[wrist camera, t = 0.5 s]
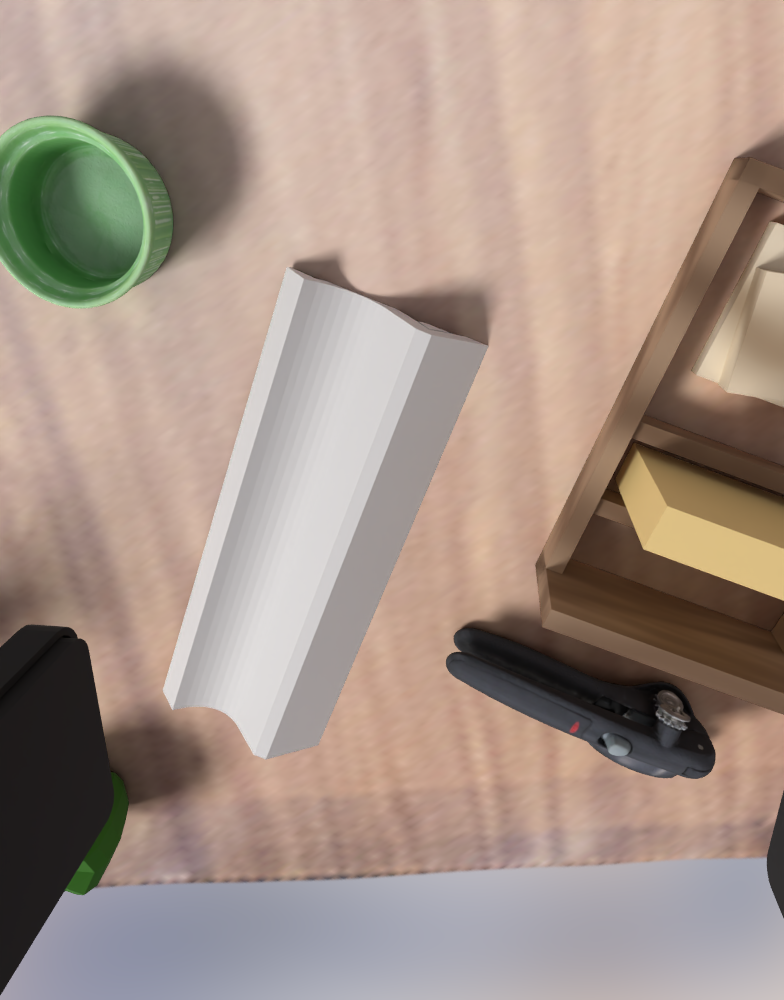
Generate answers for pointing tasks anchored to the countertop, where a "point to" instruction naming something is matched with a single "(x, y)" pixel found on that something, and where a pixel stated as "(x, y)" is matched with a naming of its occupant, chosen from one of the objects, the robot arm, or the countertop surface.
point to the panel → (705, 519)
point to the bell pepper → (102, 844)
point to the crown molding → (315, 508)
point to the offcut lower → (740, 305)
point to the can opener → (589, 706)
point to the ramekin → (79, 212)
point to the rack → (596, 593)
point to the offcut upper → (758, 341)
